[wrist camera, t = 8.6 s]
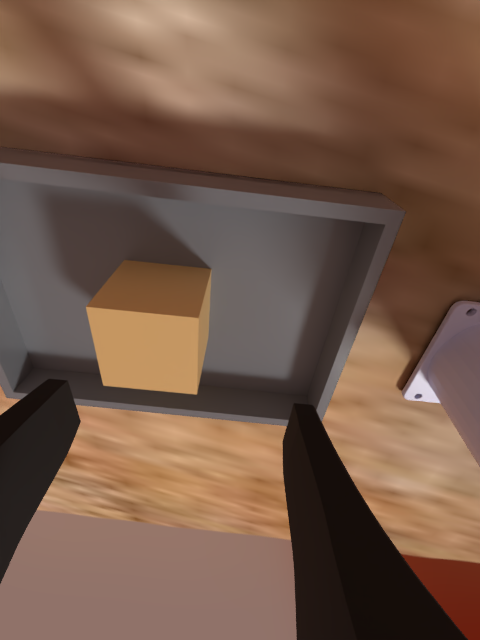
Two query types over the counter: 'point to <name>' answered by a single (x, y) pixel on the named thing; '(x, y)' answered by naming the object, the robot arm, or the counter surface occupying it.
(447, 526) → the counter surface
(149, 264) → the ochre block
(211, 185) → the charcoal tray
